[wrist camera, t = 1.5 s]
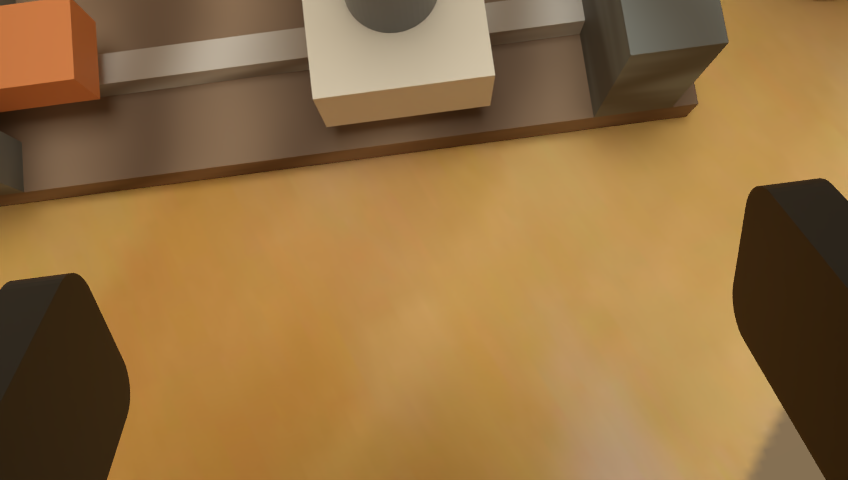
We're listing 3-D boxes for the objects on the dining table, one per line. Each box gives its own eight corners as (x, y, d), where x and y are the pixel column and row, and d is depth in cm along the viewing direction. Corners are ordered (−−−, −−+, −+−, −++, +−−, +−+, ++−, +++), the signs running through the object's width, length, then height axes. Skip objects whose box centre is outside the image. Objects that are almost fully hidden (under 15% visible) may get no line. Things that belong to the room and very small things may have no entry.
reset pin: (-36, 116, 28) (-72, 98, 26) (-39, 39, 29) (-74, 15, 27) (100, 99, 28) (74, 78, 26) (95, 21, 29) (69, -4, 27)
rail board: (-54, 213, 31) (-224, 161, 23) (-59, 27, 33) (-221, -81, 25) (686, 116, 31) (767, 31, 23) (651, -67, 32) (717, -207, 24)
